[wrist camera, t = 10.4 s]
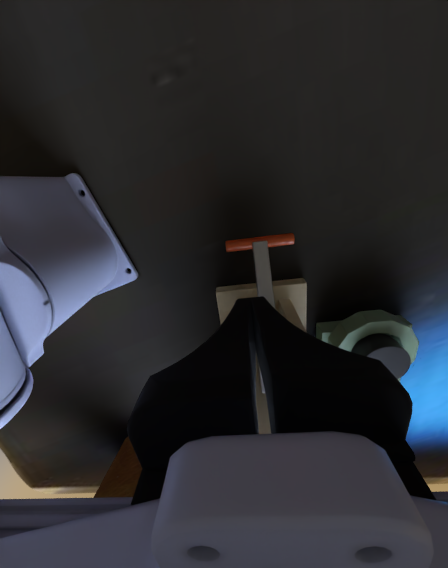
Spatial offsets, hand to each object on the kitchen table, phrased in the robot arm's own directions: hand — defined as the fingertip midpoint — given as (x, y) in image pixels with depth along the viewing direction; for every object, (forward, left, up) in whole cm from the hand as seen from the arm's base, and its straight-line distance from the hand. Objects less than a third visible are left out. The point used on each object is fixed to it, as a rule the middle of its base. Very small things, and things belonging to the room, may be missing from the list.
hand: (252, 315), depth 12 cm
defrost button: (+12, +8, -7) cm, 16 cm away
